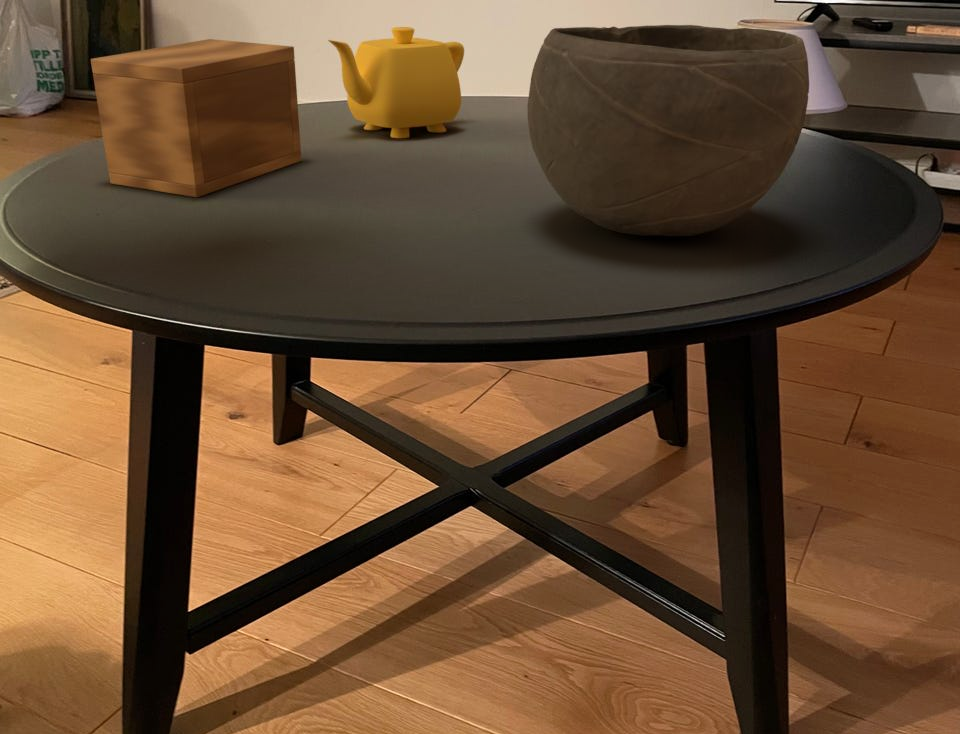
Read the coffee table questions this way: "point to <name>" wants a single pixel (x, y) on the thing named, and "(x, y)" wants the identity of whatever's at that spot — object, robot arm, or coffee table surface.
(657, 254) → the coffee table surface
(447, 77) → the teapot
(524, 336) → the coffee table surface
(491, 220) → the coffee table surface
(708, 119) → the bowl
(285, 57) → the small wooden crate
